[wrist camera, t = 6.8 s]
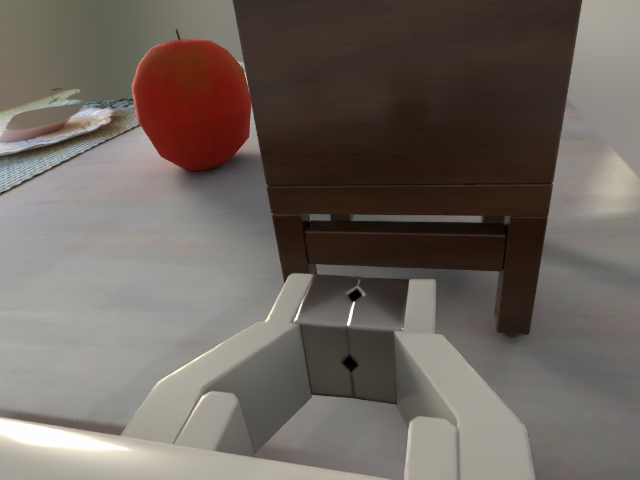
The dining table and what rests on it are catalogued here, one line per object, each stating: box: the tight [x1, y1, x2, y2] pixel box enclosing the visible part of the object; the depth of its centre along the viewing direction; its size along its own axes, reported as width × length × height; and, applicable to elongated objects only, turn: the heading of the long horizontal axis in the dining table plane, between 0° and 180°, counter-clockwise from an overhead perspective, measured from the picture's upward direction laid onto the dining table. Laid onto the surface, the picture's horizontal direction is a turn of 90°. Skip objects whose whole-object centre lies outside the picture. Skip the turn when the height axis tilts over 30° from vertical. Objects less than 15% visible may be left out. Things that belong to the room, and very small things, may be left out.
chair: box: [233, 0, 582, 337], centre depth 19 cm, size 10×10×16 cm
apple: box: [132, 29, 251, 171], centre depth 40 cm, size 10×10×12 cm
